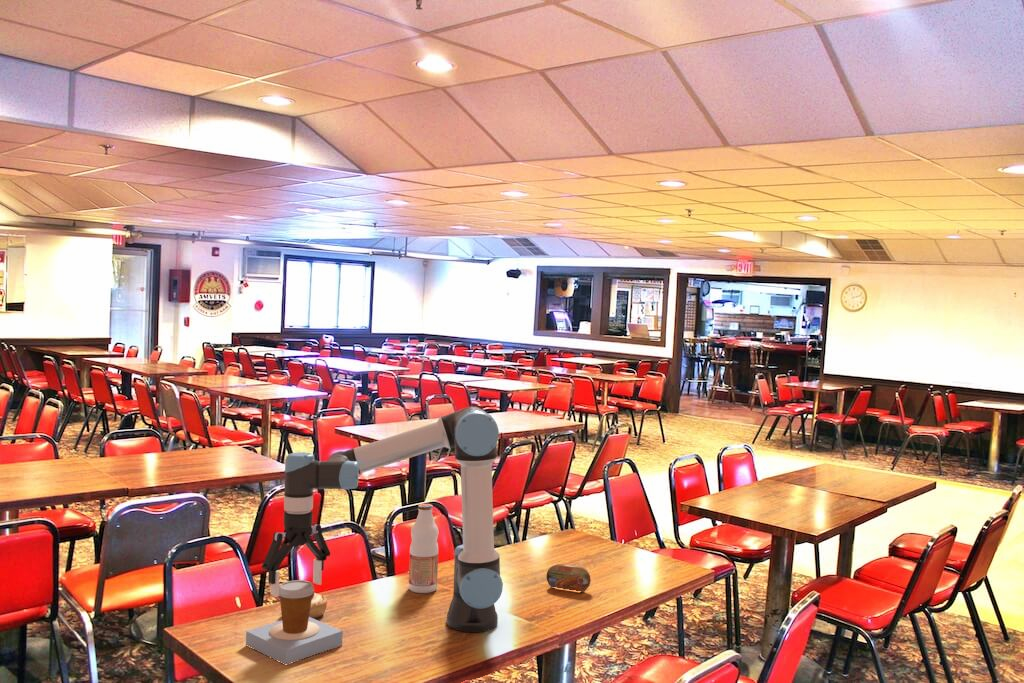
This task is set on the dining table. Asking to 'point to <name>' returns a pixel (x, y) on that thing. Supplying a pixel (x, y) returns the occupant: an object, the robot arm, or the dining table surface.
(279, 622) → the serving stand
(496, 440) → the robot arm
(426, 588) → the fruit juice
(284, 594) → the disposable coffee cup
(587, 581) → the tin
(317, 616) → the pastry
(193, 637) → the dining table surface
